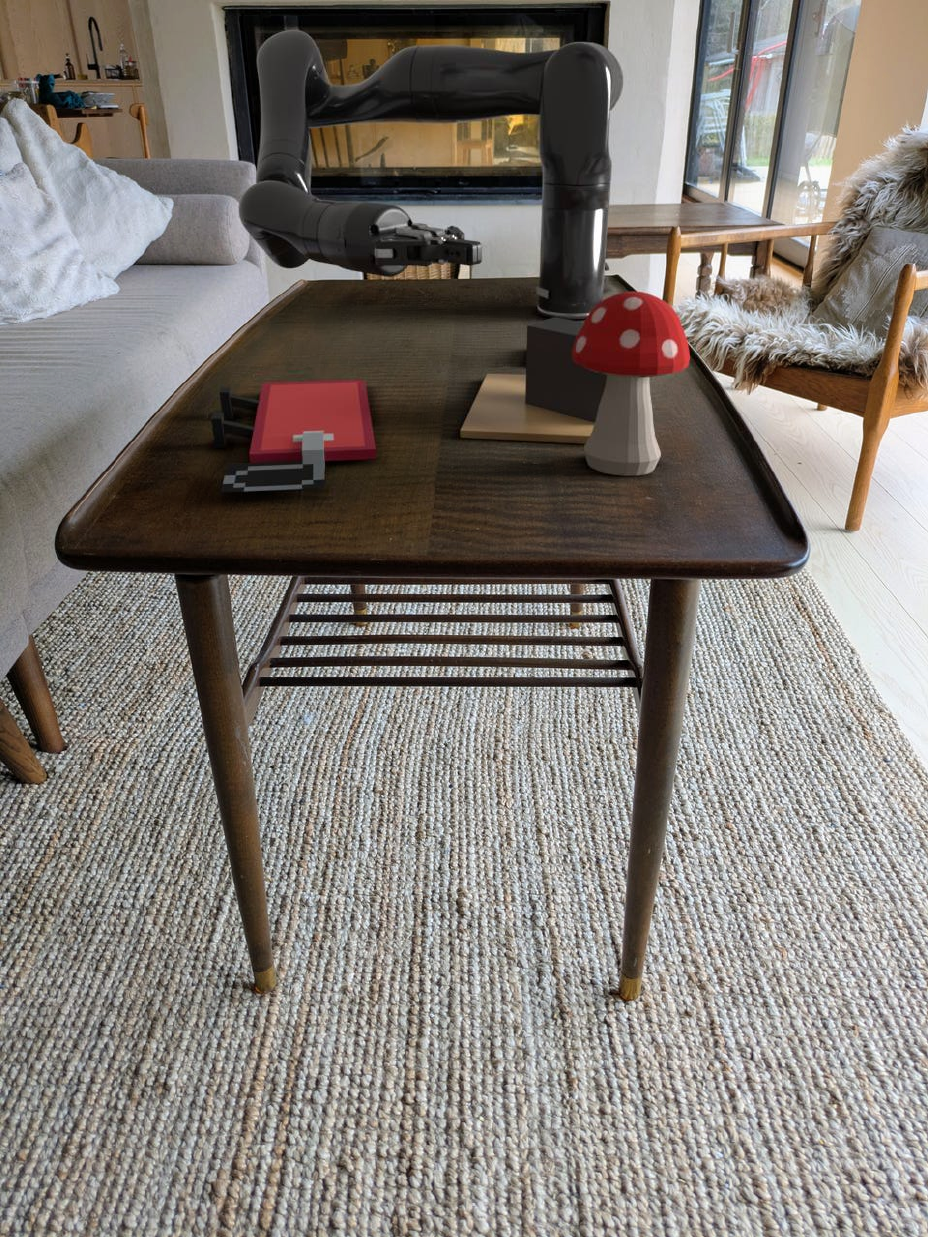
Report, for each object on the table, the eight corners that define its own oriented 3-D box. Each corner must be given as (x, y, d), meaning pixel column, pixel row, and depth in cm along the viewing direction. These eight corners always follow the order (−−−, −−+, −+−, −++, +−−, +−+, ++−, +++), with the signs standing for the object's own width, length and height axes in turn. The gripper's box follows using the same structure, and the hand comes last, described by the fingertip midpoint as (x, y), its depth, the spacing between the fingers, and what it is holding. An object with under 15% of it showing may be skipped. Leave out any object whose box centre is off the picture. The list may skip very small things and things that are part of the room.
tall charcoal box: (526, 324, 90) (609, 342, 84) (555, 316, 93) (637, 332, 87) (524, 403, 94) (603, 425, 88) (552, 393, 97) (630, 413, 91)
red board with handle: (198, 504, 74) (381, 495, 76) (193, 471, 73) (380, 463, 75) (229, 396, 100) (365, 391, 102) (226, 371, 98) (364, 366, 100)
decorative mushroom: (554, 475, 79) (562, 299, 72) (578, 442, 86) (588, 278, 79) (668, 490, 76) (689, 307, 69) (683, 455, 83) (704, 285, 76)
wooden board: (487, 380, 104) (487, 373, 103) (636, 385, 101) (637, 378, 101) (460, 437, 88) (460, 430, 87) (637, 446, 85) (638, 438, 85)
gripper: (408, 263, 110) (517, 281, 100) (324, 280, 102) (433, 302, 92) (405, 196, 106) (518, 207, 96) (318, 208, 98) (431, 222, 88)
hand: (476, 254), depth 94 cm, fingers closed
